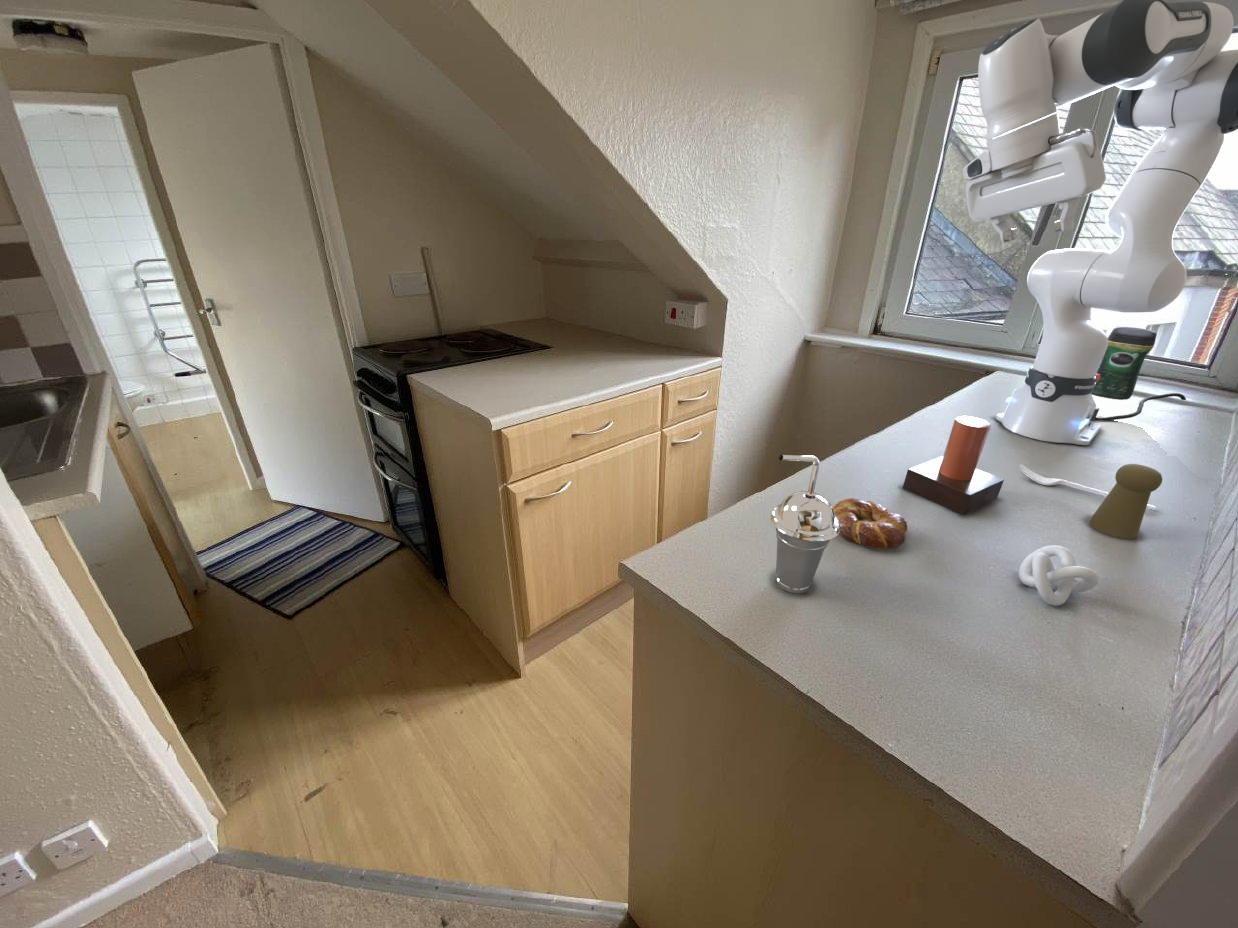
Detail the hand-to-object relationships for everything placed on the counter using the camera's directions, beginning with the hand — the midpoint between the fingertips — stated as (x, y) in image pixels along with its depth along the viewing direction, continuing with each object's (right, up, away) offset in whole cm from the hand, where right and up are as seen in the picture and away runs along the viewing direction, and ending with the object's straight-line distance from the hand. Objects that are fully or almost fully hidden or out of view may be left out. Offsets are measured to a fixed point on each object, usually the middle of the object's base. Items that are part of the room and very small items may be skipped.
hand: (1035, 236), depth 87 cm
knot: (-11, -55, -15) cm, 58 cm away
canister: (-9, -39, +7) cm, 41 cm away
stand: (-9, -43, +9) cm, 44 cm away
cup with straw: (-45, -54, -14) cm, 71 cm away
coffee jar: (+67, -19, +60) cm, 92 cm away
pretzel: (-29, -48, -2) cm, 56 cm away
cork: (+12, -48, -1) cm, 49 cm away
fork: (+16, -43, +10) cm, 47 cm away
